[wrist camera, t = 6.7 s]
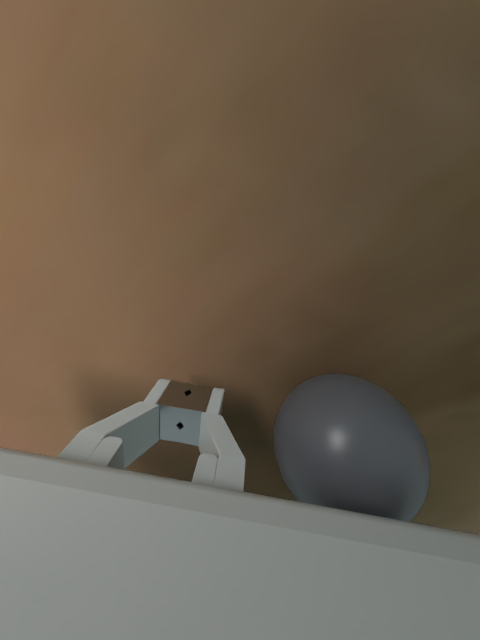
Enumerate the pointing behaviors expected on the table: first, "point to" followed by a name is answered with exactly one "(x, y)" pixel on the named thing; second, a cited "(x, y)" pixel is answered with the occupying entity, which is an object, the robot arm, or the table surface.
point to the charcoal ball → (351, 448)
